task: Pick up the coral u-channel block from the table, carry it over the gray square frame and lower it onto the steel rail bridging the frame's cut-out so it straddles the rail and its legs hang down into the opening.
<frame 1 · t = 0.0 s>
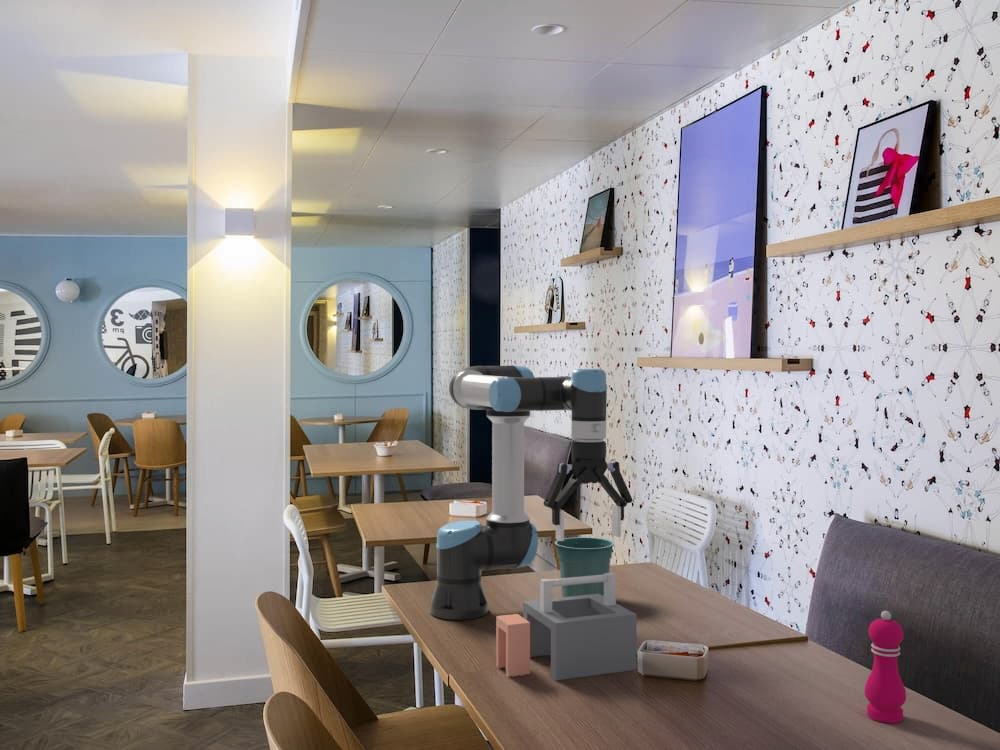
hand: (588, 537, 199), 28 cm above the table, fingers open, 13 cm apart
coral u-channel block: (512, 670, 197), on the table
flower pot: (584, 601, 252), on the table
pepper mill: (884, 718, 172), on the table
gray square frame: (578, 661, 202), on the table
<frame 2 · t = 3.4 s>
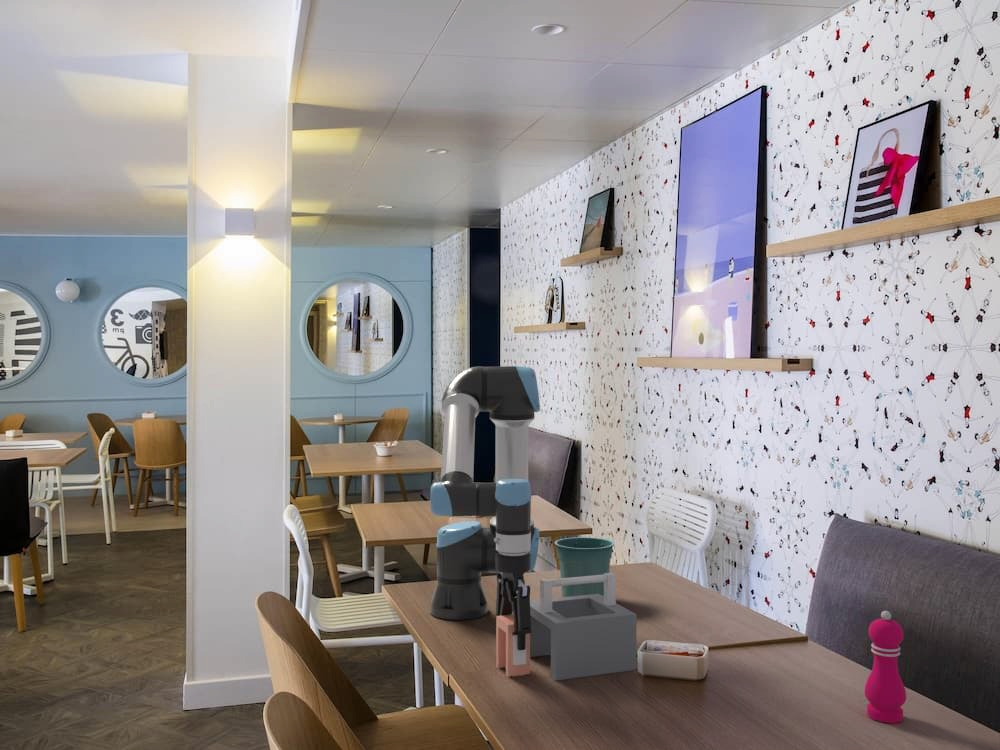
hand: (512, 658, 196), 3 cm above the table, fingers closed on coral u-channel block, 7 cm apart
coral u-channel block: (512, 670, 197), on the table, touching gripper
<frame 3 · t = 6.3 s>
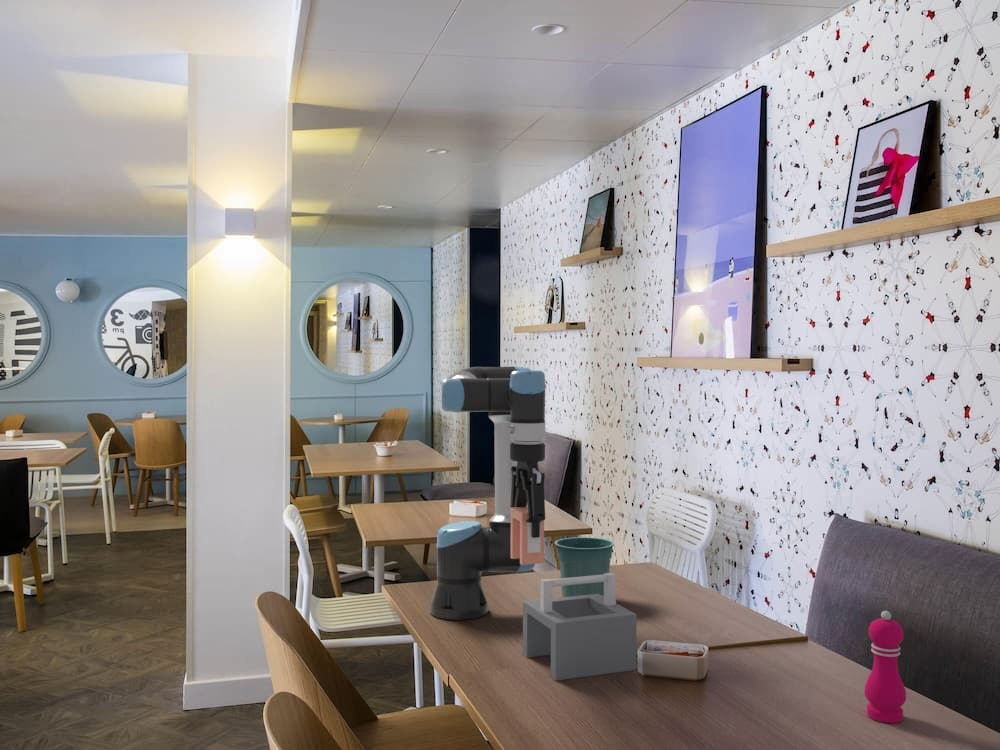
hand: (527, 548, 197), 26 cm above the table, fingers closed on coral u-channel block, 7 cm apart
coral u-channel block: (527, 560, 197), point 23 cm above the table, touching gripper
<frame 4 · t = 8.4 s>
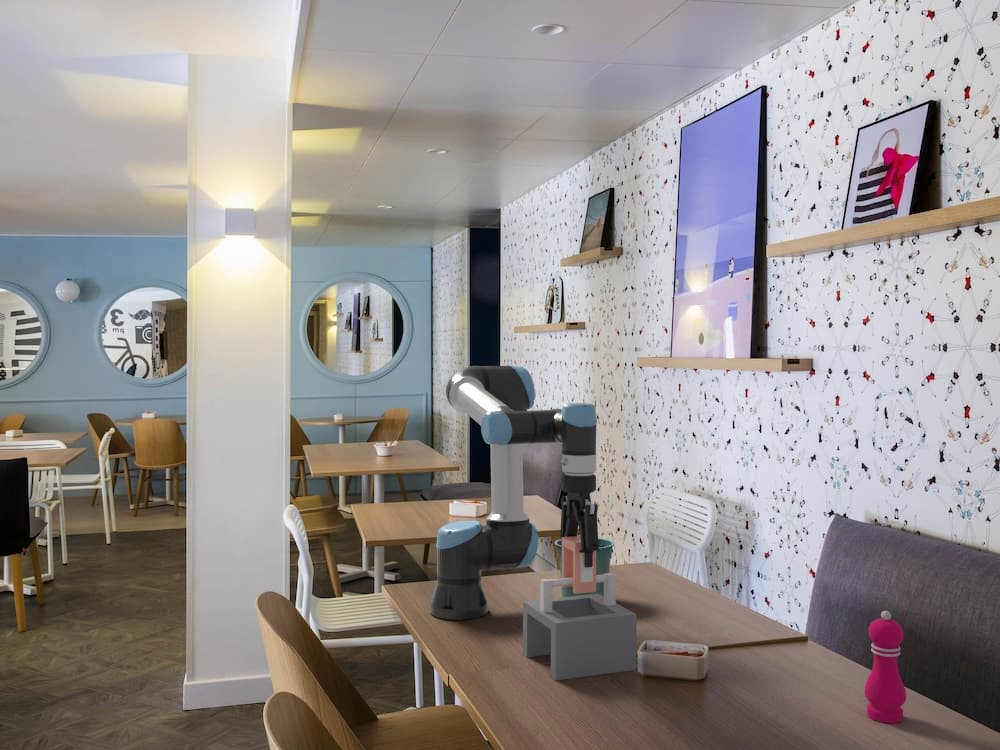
hand: (578, 577, 201), 19 cm above the table, fingers closed on coral u-channel block, 7 cm apart
coral u-channel block: (578, 589, 202), point 16 cm above the table, touching gripper
when the fingers open (14 cm above the table, at t = 9.7 s): coral u-channel block drops 1 cm, resting on gray square frame.
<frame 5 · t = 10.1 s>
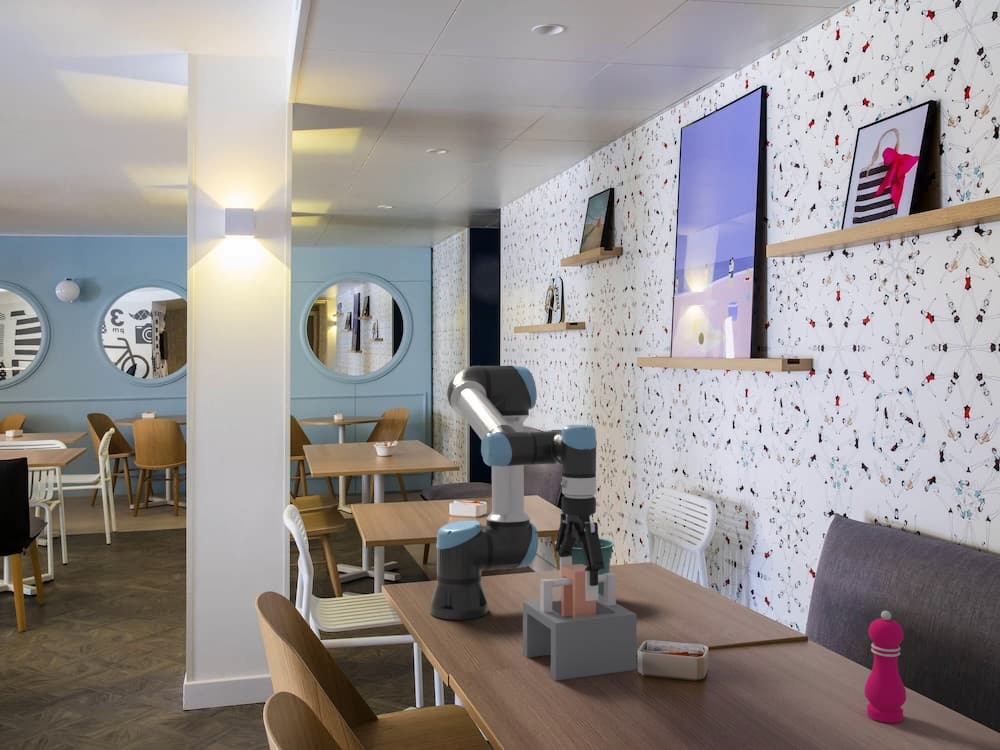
hand: (578, 592, 202), 15 cm above the table, fingers open, 12 cm apart
coral u-channel block: (578, 617, 202), point 10 cm above the table, touching gray square frame
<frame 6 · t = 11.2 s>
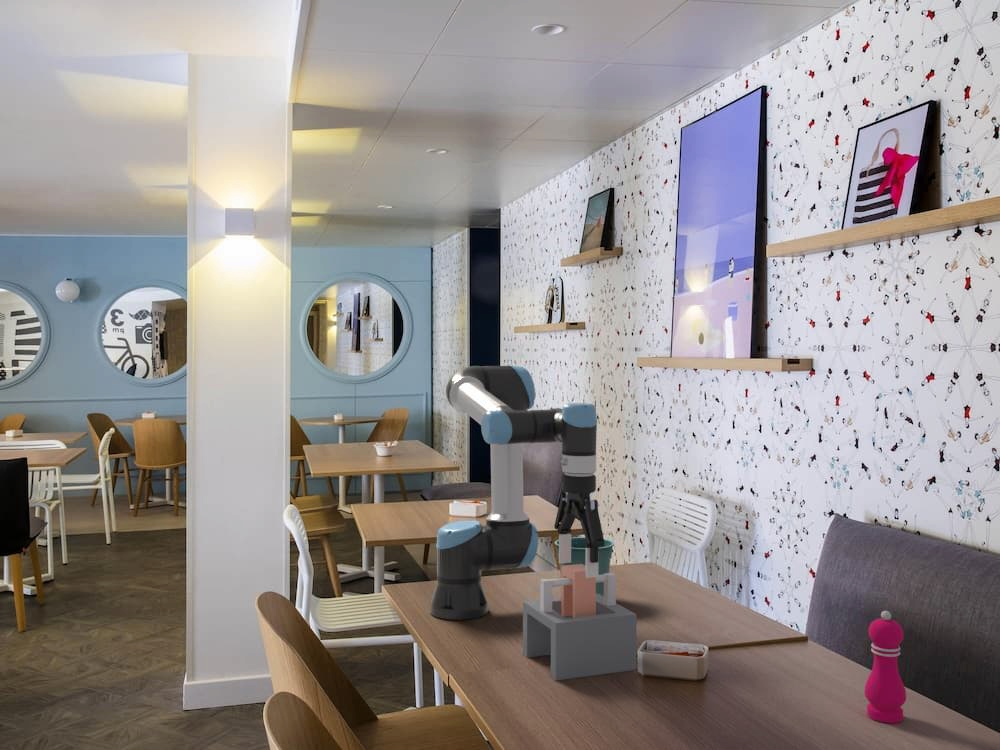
hand: (577, 569, 202), 20 cm above the table, fingers open, 13 cm apart
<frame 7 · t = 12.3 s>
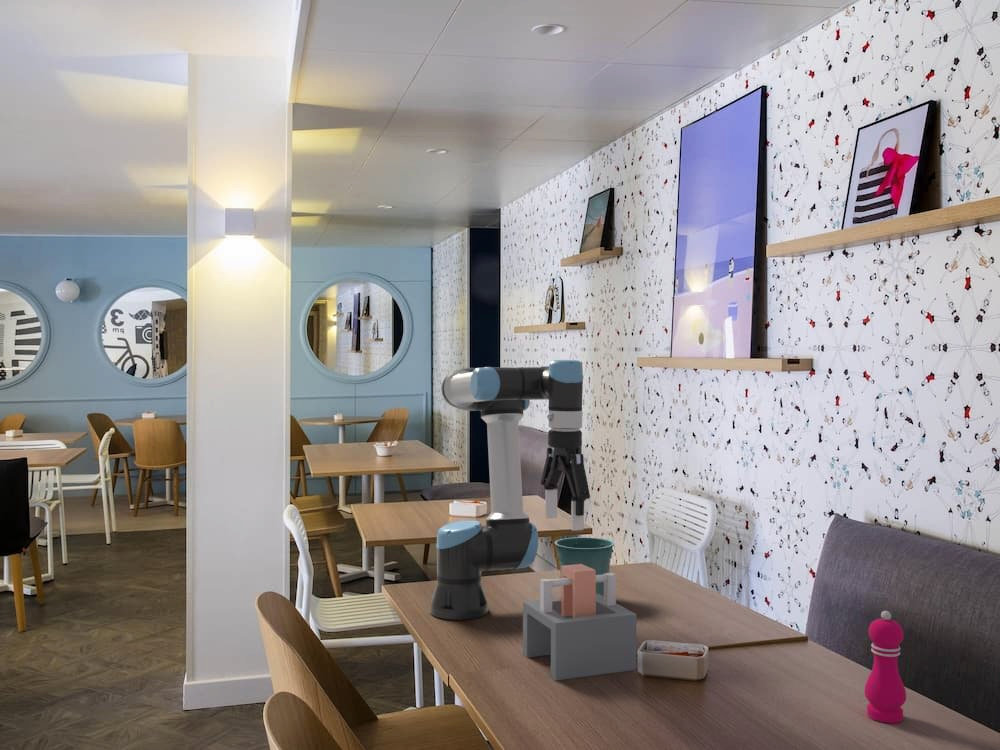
hand: (563, 523, 205), 30 cm above the table, fingers open, 13 cm apart
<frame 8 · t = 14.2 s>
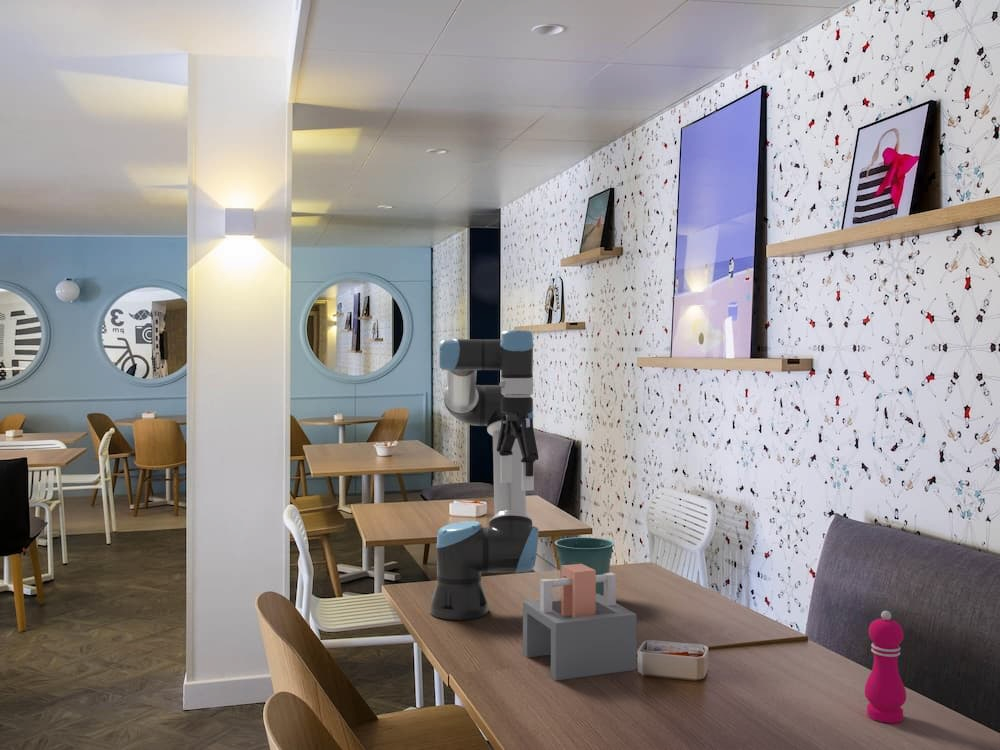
hand: (516, 486, 215), 37 cm above the table, fingers open, 13 cm apart
at the end: coral u-channel block inside the target area on the gray square frame (0.3 cm from its centre), point 9.8 cm above the gray square frame's base; coral u-channel block tilted 2°; the gripper is holding nothing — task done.
